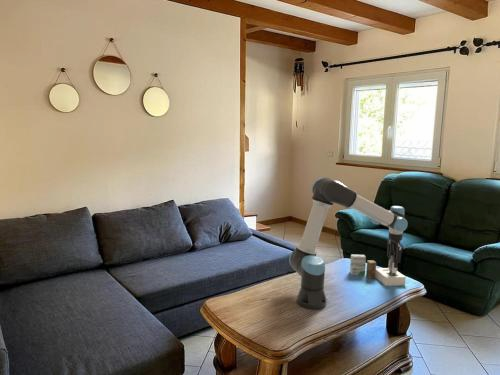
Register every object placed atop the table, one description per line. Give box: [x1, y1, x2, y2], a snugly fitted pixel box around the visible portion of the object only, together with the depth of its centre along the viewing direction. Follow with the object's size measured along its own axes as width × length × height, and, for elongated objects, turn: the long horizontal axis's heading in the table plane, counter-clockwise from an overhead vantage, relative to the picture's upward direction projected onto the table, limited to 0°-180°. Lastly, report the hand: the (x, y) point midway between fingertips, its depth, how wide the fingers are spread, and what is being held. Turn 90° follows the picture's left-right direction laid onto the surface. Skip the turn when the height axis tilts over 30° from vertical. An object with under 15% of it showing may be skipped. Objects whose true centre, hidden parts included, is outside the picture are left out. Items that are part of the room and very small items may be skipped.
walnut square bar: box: [365, 259, 377, 279], centre depth 222 cm, size 4×4×10 cm
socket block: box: [375, 267, 406, 287], centre depth 218 cm, size 12×14×5 cm
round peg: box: [389, 255, 396, 276], centre depth 214 cm, size 4×4×12 cm
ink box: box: [349, 254, 367, 276], centre depth 227 cm, size 9×5×12 cm, turn 84°
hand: (392, 271), depth 214 cm, fingers closed on round peg, 3 cm apart
